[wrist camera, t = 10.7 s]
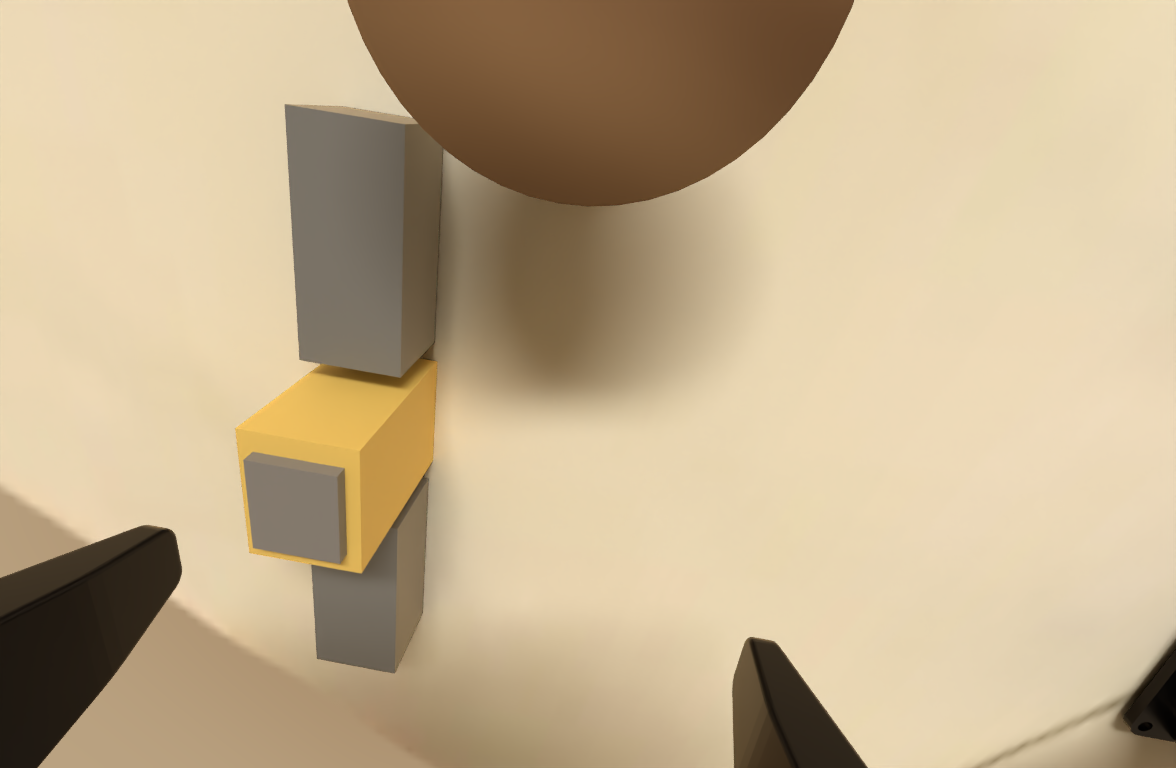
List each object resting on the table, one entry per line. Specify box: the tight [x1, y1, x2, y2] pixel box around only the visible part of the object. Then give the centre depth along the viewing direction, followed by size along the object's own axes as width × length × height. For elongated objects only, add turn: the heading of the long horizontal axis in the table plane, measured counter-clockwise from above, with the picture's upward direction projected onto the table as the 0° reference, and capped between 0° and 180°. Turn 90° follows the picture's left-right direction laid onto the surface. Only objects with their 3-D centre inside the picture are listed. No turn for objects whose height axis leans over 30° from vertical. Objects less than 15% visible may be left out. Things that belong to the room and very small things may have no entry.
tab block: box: [235, 358, 437, 574], centre depth 18 cm, size 4×3×6 cm
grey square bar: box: [285, 104, 443, 673], centre depth 20 cm, size 19×3×3 cm, turn 171°
